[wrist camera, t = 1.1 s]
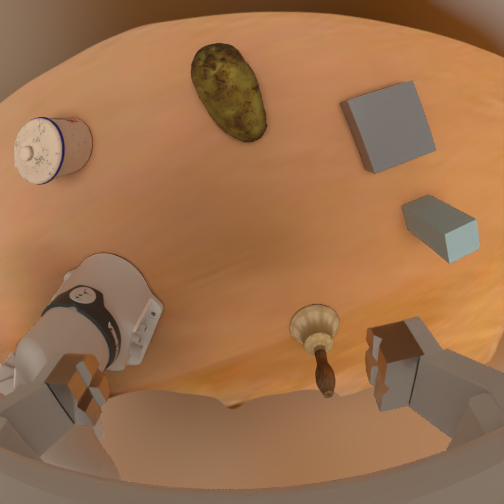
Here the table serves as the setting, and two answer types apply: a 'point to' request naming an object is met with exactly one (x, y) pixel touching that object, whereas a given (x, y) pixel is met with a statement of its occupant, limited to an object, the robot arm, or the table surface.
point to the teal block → (442, 227)
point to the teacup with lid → (51, 148)
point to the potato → (229, 91)
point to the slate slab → (389, 126)
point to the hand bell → (317, 340)
